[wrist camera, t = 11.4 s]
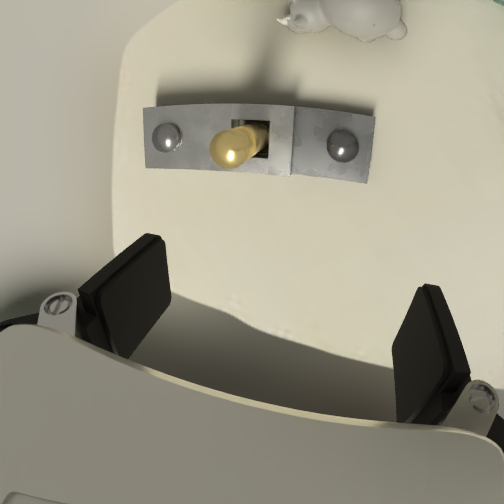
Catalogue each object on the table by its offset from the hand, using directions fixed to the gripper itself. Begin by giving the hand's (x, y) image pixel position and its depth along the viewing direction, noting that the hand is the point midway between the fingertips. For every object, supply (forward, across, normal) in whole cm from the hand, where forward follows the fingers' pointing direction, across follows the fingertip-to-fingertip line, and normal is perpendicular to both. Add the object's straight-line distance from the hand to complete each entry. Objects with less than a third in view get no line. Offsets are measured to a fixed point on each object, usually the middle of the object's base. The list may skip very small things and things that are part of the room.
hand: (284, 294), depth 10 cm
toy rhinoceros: (+23, -1, -17) cm, 29 cm away
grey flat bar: (+22, +7, -2) cm, 24 cm away
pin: (+22, +7, -2) cm, 24 cm away
